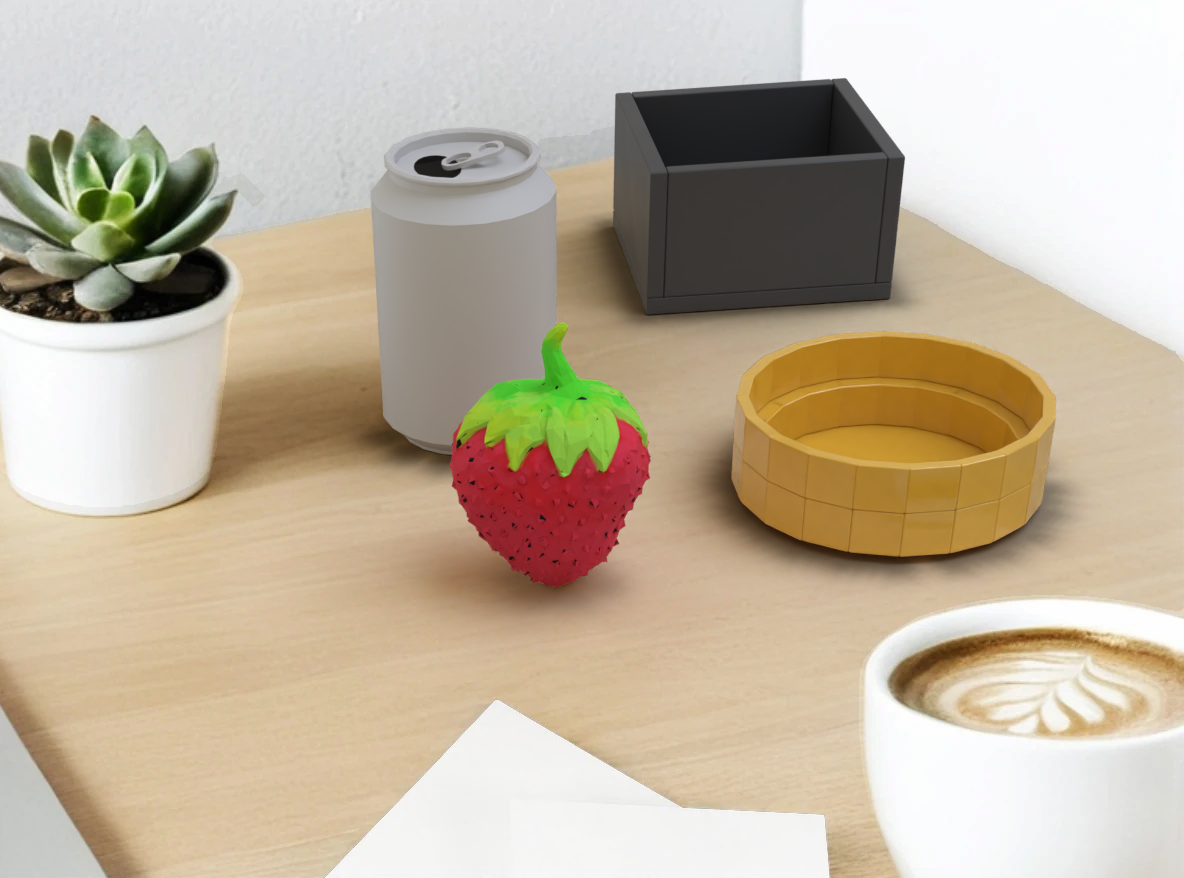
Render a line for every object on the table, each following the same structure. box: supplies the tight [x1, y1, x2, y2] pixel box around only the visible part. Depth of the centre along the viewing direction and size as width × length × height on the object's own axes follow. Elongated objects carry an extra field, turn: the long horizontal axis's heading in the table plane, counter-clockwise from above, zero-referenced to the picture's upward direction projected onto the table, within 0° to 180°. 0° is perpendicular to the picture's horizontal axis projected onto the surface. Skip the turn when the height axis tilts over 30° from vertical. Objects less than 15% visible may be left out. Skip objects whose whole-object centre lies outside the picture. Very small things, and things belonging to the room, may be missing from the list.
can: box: [370, 126, 558, 456], centre depth 82 cm, size 8×8×12 cm
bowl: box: [730, 330, 1057, 558], centre depth 78 cm, size 12×12×4 cm
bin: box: [612, 77, 906, 316], centre depth 97 cm, size 12×12×7 cm
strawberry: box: [448, 322, 652, 589], centre depth 72 cm, size 6×7×10 cm
